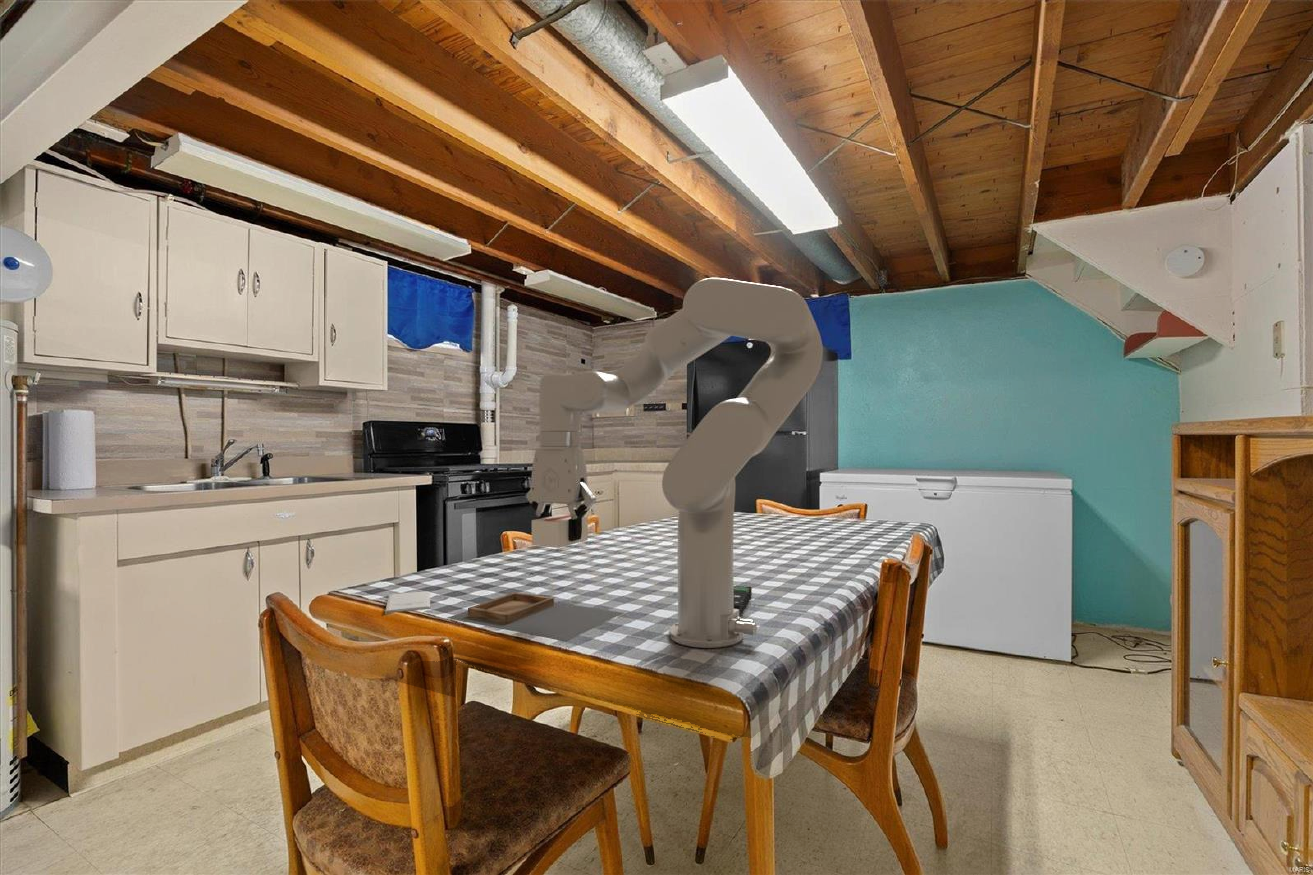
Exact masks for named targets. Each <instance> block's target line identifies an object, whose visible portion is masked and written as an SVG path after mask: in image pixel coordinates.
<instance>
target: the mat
mask: <svg viewBox="0 0 1313 875" xmlns="http://www.w3.org/2000/svg"><path fill="white" fill-rule="evenodd" d="M623 614H624V612H622V611H615V610H608V609H602V608H597V607H588V606H582V605H577V604H576V605H575V604H569V603H564V602H559V601H557V602H556V601H554V606H553V607H550V608H548V609H545V610H543V611H540V612H538V613H535V614H533V615H530V616H527V617H525V618H522V619H520V620H517V621H515V622H512V623H510V624H505V623H500V622H495V621H489V620H484V619H479V618H473V617H468V610H465V611H463V612H461V613H460V612H459V613H457V614H454V615H451V616H447V619H450V620H454V621H461V622H466V623H471V624H475V625H481V626H486V627H492V628H496V629H500V630H506V631H512V632H517V633H523V634H528V635H532V636H537V637H542V638H549V639H553V640H559V641H564V642H568V641H570V640H572V639H574V638H576V637H578V636H579V635H582V634H584V633H586V632H588V631H590V630H592V629H594V628H597V627H598V626H601V625H602V624H604V623H606V622H608V621H610V620H612V619H613V620H614V619H615V618H617V617H619V616H621V615H623Z"/></svg>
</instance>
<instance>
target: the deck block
mask: <svg viewBox="0 0 1313 875" xmlns="http://www.w3.org/2000/svg"><path fill="white" fill-rule="evenodd" d="M569 519H571V516H570V514H564V513H563V514H557V515H552V517H546V518H541V519H539V518H537V519H532V520H531V546H537V547H547V548H557V549H559V548H562V547H567V546H571V545H576V544H579V543H582V542H586V541H588V538H589V534H588V532H589V530H588V529H589V528H588V527H589V523H588V522H589V518H588V516H587V515H585V516H584V517H583V518H582V534H581V539H579V540H575V541H569Z"/></svg>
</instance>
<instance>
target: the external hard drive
mask: <svg viewBox="0 0 1313 875" xmlns="http://www.w3.org/2000/svg"><path fill="white" fill-rule="evenodd" d="M429 609H430V610H431V592H430V591H427V590H426V591H415V592H414V591H413V592H402V593H401V592H400V593H392V594H389V596H388V599H387V603H386V607H385V610H384V611H385V612H384V614H385V616H387V615H390V614H394V613H398V612H399V613H401V612H407V611H408V612H410V611H417V610H421V611H422V610H429Z"/></svg>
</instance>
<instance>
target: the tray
mask: <svg viewBox="0 0 1313 875" xmlns="http://www.w3.org/2000/svg"><path fill="white" fill-rule="evenodd" d="M554 602H555V598H554V597H550V596H543V595H537V594H529V593H523V592H518V591H514V592H511V593H509V594H506V595H502V596H500V597H498V598H497V597H496V598H494V599H491V600H489V601H484V602H482V603H479V604H475V605H473V606H470V607H468V608H467V611H468V617H473V618H479V619H484V620H489V621H495V622H500V623H505V624H510V623H512V622H515V621H517V620H520V619H522V618H525V617H527V616H530V615H533V614H535V613H538V612H540V611H543V610H545V609H548V608H550V607H553V606H554Z"/></svg>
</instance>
